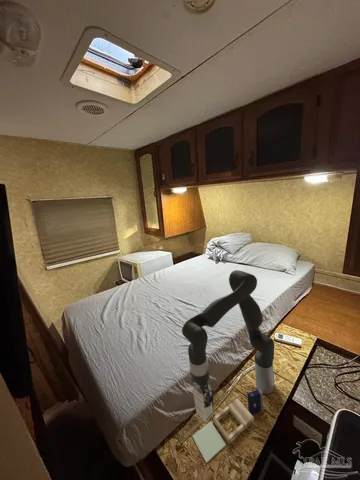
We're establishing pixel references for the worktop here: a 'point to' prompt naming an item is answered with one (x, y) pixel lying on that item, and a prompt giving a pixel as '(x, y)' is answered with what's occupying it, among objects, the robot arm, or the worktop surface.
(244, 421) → the wooden frame
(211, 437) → the sage mat
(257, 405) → the cassette player
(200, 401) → the syrup box
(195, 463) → the worktop surface
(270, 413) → the worktop surface
